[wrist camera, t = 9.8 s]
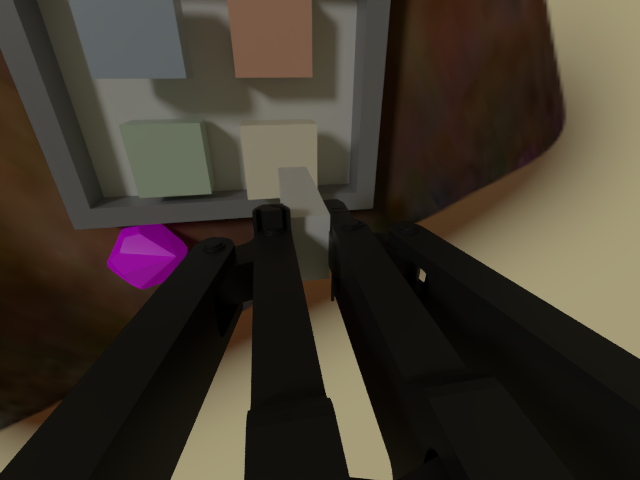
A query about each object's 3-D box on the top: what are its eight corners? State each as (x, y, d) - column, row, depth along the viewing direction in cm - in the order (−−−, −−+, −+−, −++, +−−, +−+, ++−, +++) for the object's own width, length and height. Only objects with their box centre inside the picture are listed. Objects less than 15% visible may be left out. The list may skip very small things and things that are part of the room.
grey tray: (92, 214, 27) (74, 229, 24) (-14, -70, 18) (-57, -93, 16) (362, 196, 31) (372, 208, 28) (379, -46, 22) (395, -61, 20)
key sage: (149, 187, 26) (139, 198, 24) (131, 119, 23) (118, 125, 21) (215, 183, 27) (211, 193, 24) (204, 118, 24) (199, 122, 22)
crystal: (133, 210, 28) (112, 234, 24) (195, 232, 30) (185, 258, 26) (117, 257, 29) (95, 286, 25) (177, 275, 31) (165, 305, 27)
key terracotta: (237, 76, 23) (235, 77, 21) (227, -12, 21) (224, -22, 19) (307, 76, 24) (312, 77, 22) (305, -9, 22) (311, -18, 19)
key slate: (109, 77, 20) (92, 78, 18) (80, -25, 18) (57, -38, 16) (193, 77, 21) (186, 78, 19) (176, -21, 19) (166, -33, 17)
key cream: (248, 188, 26) (247, 199, 23) (240, 120, 23) (239, 125, 21) (312, 185, 26) (317, 195, 24) (311, 118, 24) (317, 123, 22)
